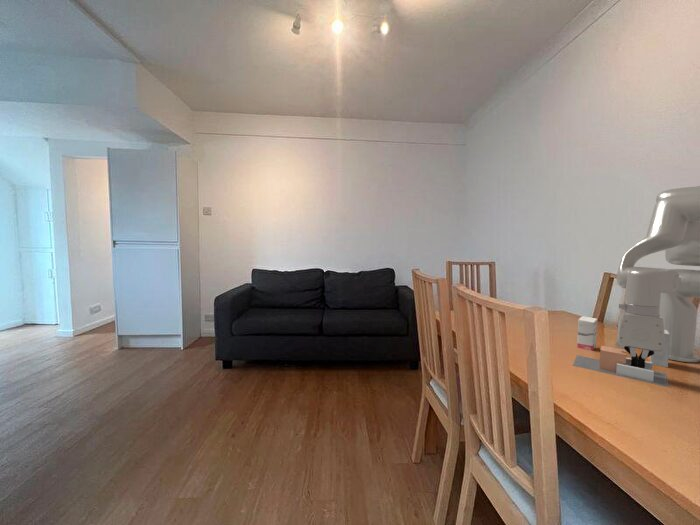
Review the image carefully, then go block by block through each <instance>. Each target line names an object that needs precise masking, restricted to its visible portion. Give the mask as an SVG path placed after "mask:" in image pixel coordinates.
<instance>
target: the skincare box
mask: <svg viewBox="0 0 700 525" xmlns="http://www.w3.org/2000/svg"><path fill="white" fill-rule="evenodd" d="M669 343H670V334H669V332H668V331H667V330H664V349H663V350H664V355H651V356H649V357H647V361H648V362H652V366H659V367H665V368H668V367H669V359H668V357H669Z"/></svg>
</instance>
